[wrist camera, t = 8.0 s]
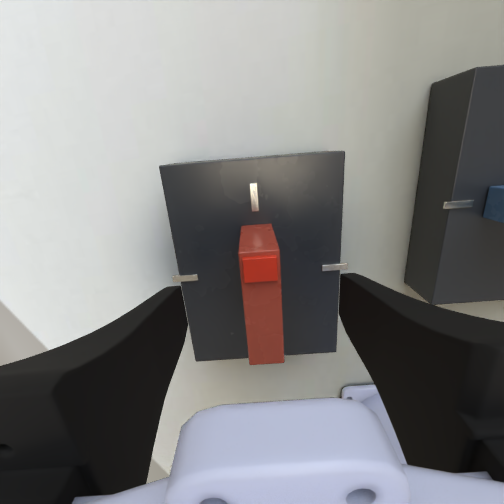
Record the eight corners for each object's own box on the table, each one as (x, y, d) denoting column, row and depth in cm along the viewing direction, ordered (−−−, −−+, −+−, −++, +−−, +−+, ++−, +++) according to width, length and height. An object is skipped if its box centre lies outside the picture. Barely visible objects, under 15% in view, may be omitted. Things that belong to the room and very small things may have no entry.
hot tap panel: (328, 323, 20) (342, 353, 17) (198, 332, 20) (189, 364, 17) (334, 150, 16) (354, 150, 13) (168, 163, 16) (150, 166, 13)
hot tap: (276, 313, 16) (285, 367, 12) (249, 315, 16) (249, 369, 12) (271, 223, 14) (280, 251, 10) (241, 225, 14) (237, 254, 10)
